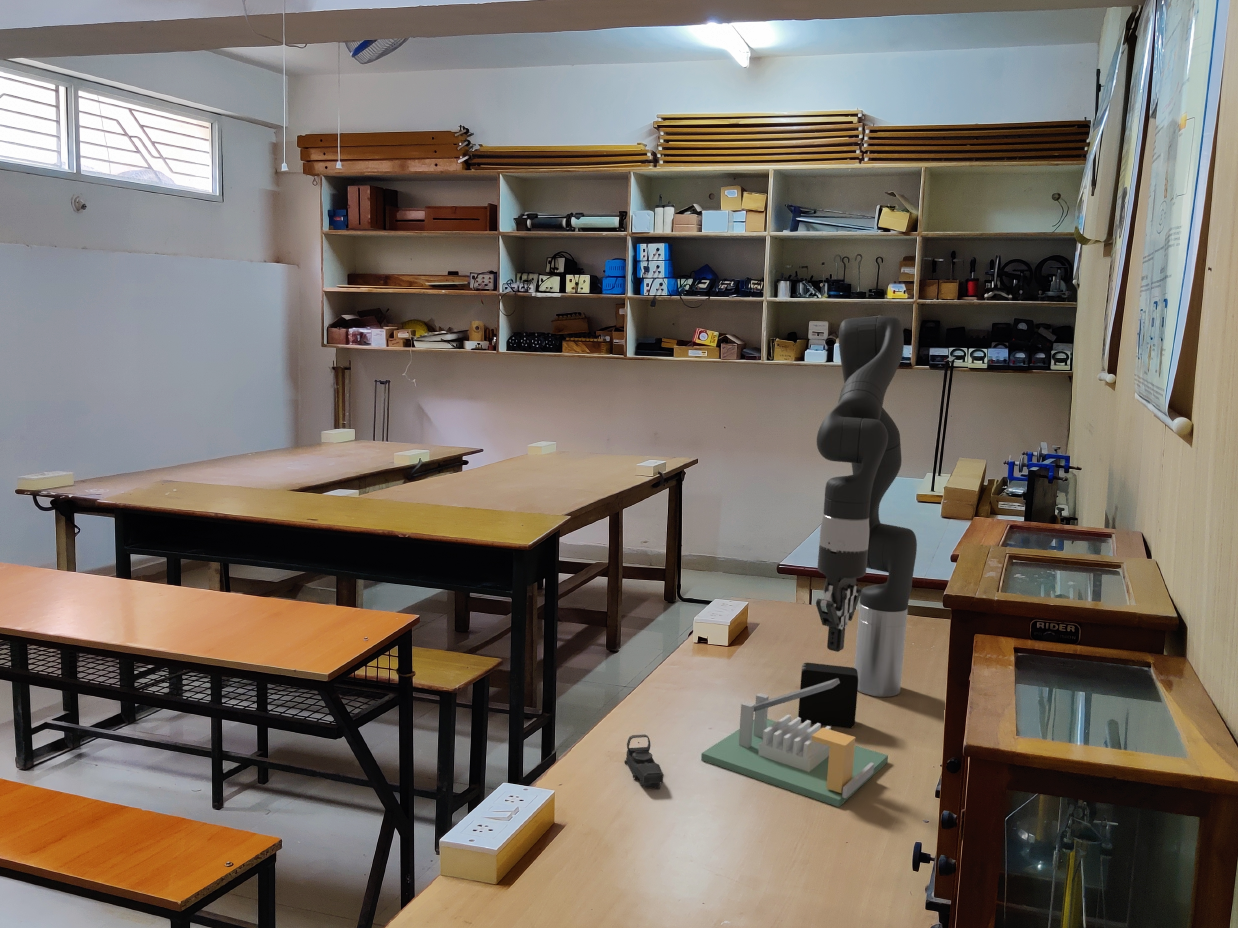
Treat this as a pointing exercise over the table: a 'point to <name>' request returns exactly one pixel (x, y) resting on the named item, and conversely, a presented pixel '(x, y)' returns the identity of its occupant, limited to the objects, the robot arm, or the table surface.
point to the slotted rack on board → (788, 755)
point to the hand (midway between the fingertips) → (835, 649)
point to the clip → (837, 757)
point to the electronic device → (829, 695)
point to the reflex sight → (643, 765)
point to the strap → (796, 694)
